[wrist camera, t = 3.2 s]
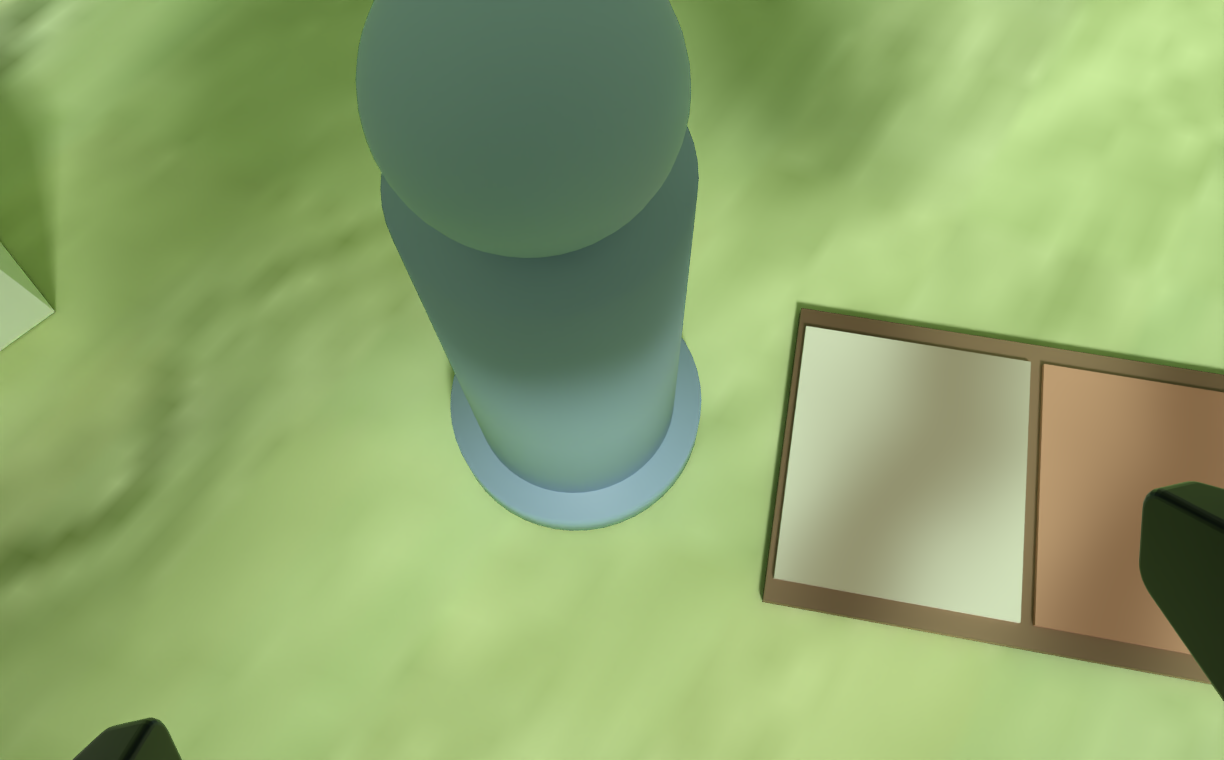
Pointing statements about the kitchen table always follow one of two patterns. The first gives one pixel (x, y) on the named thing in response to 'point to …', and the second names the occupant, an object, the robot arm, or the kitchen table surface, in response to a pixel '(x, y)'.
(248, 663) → the kitchen table surface
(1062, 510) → the board
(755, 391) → the kitchen table surface
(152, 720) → the robot arm
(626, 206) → the pawn
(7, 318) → the die
